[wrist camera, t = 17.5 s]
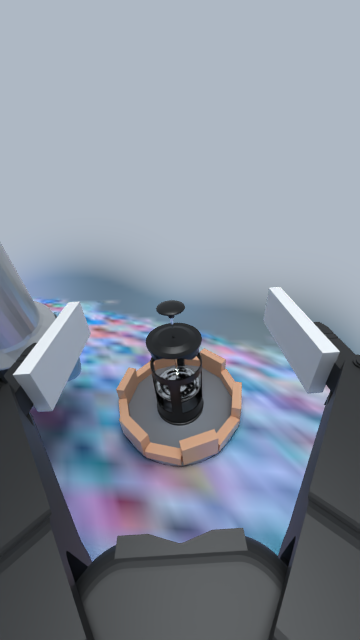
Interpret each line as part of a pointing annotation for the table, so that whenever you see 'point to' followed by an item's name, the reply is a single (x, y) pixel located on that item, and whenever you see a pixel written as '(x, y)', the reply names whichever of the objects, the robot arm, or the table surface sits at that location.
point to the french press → (176, 366)
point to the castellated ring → (189, 439)
